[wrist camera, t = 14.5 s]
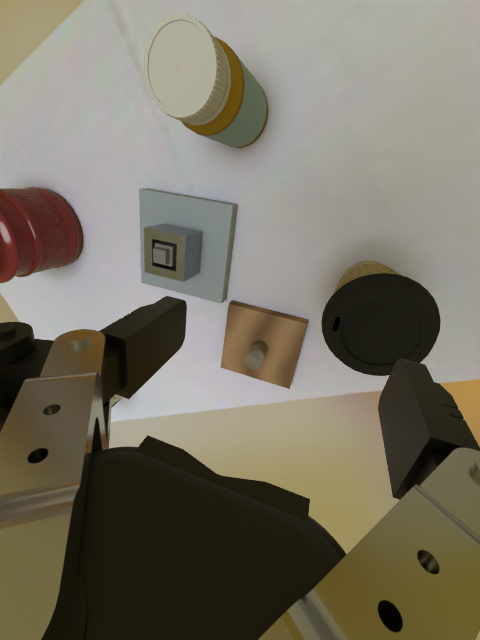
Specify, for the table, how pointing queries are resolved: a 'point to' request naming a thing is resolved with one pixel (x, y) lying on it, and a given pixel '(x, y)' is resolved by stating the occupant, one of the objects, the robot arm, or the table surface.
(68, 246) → the canister
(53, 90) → the table surface
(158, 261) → the square plate
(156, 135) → the table surface
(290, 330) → the stand
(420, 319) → the coffee cup
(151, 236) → the recessed metal cube
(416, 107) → the table surface
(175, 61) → the bottle
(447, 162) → the table surface
